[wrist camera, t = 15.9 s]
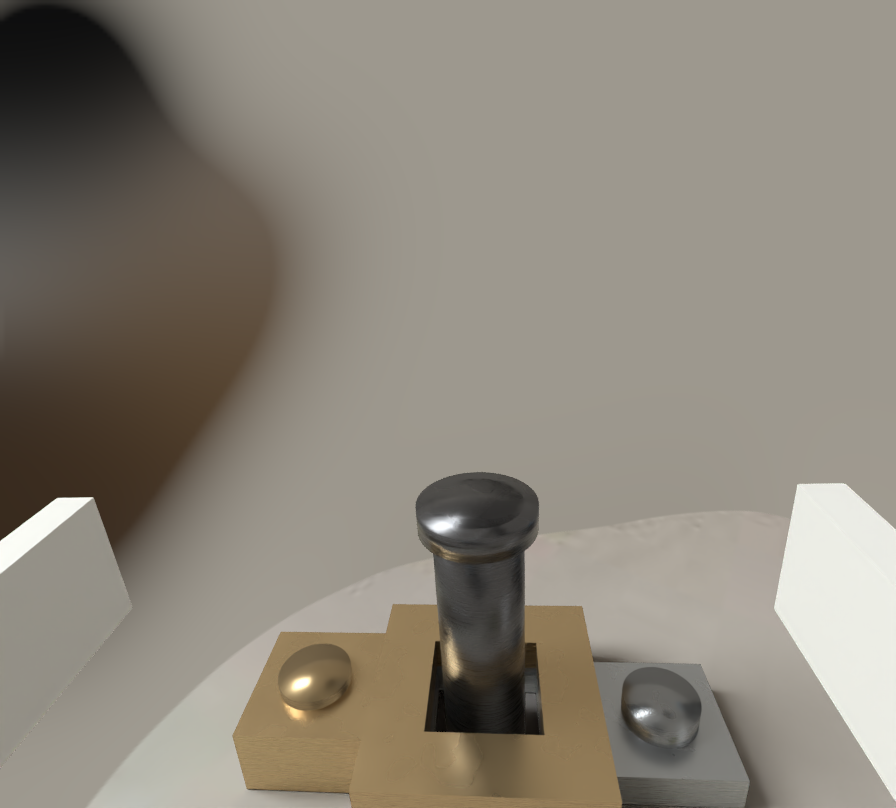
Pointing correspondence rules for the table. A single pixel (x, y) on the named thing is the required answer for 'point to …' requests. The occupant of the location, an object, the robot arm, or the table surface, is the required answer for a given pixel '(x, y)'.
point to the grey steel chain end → (661, 735)
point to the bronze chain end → (424, 721)
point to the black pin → (480, 595)
